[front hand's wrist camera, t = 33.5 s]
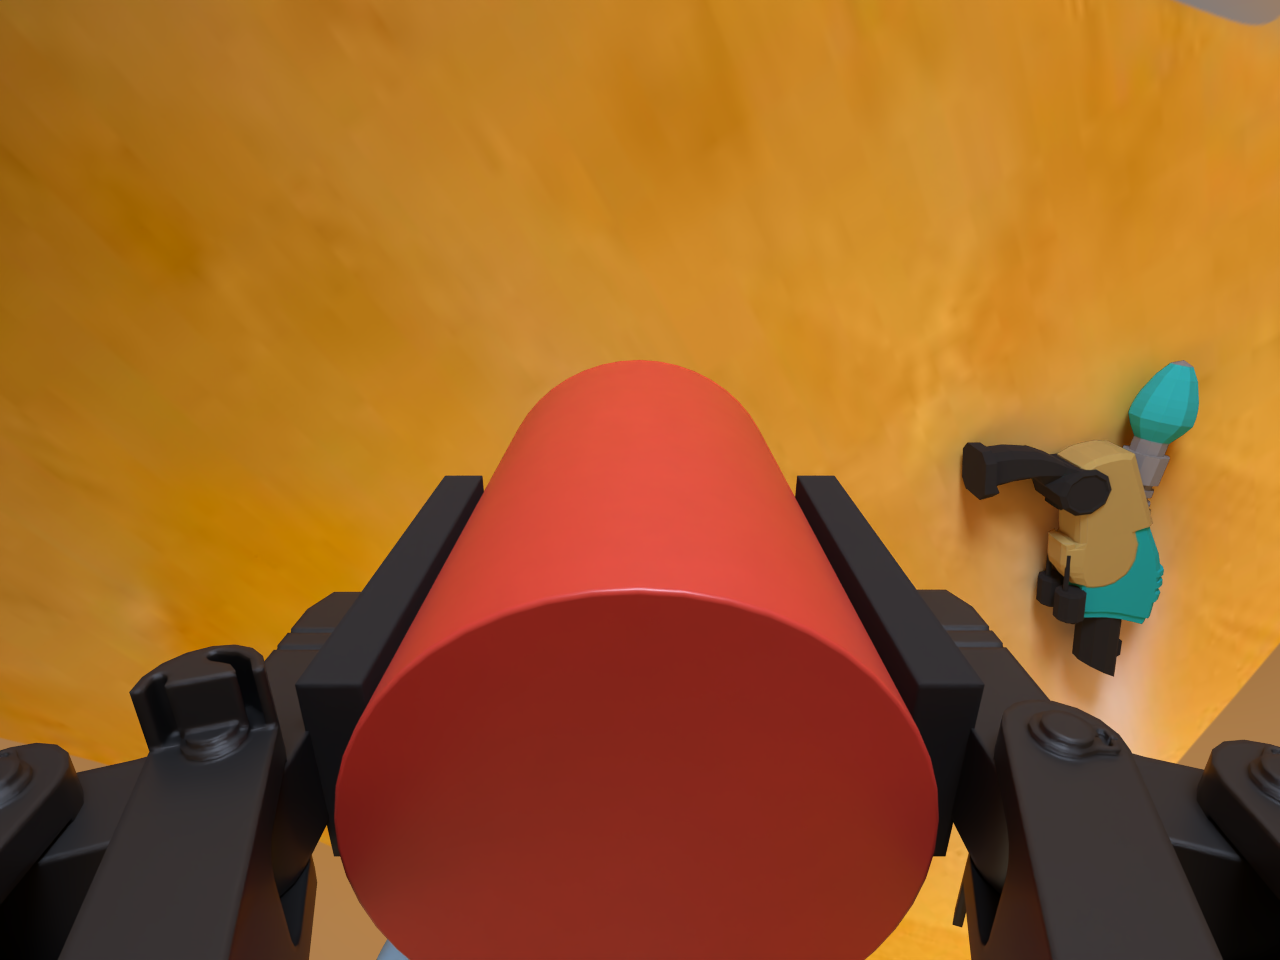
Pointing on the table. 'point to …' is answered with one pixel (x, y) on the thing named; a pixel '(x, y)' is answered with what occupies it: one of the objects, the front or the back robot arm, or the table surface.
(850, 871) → the canister
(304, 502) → the table surface
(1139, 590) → the toy gun
